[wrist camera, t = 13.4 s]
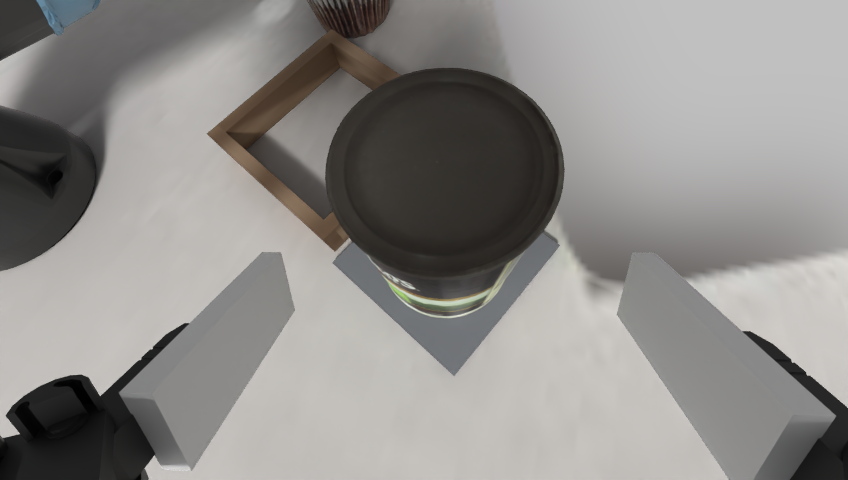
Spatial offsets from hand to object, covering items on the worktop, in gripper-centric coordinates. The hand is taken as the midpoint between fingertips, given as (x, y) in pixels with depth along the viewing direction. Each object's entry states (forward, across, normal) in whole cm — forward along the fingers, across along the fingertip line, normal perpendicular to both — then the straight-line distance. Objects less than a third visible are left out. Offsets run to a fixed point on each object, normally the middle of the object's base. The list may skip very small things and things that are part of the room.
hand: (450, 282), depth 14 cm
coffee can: (+14, 0, -6) cm, 15 cm away
